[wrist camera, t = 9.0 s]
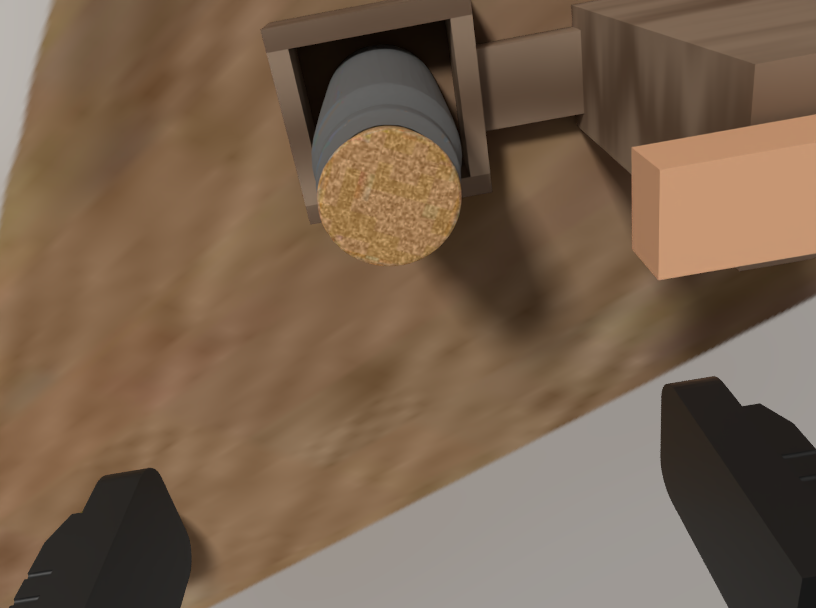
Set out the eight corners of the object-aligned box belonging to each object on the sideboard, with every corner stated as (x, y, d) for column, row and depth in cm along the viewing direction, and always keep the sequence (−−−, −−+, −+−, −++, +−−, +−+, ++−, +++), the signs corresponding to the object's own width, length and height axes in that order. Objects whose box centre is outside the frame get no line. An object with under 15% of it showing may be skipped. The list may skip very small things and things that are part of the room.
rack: (269, 22, 33) (174, 99, 17) (694, -58, 32) (1011, -57, 16) (314, 204, 37) (273, 398, 21) (688, 137, 36) (930, 288, 21)
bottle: (396, 178, 37) (409, 311, 24) (304, 116, 35) (264, 222, 22) (461, 89, 35) (517, 180, 22) (368, 17, 33) (366, 69, 20)
